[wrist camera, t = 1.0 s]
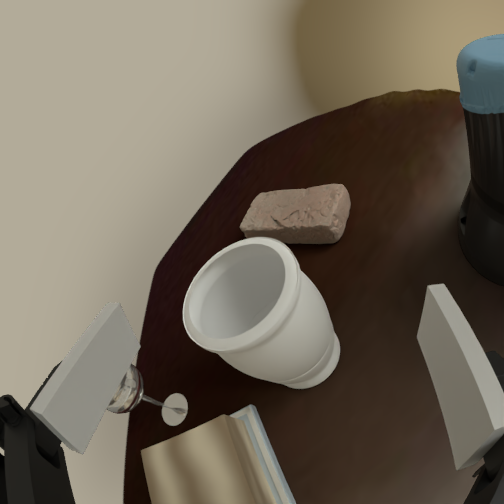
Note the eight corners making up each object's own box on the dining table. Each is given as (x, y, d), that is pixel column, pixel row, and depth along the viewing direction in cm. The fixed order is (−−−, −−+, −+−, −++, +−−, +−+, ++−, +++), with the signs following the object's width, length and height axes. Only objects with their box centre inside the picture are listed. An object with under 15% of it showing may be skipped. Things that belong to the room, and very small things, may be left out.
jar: (358, 317, 32) (312, 230, 22) (335, 406, 27) (269, 363, 17) (279, 312, 38) (210, 239, 29) (252, 387, 33) (162, 336, 24)
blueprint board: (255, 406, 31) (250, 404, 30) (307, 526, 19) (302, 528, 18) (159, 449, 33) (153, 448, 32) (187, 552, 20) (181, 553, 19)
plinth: (244, 420, 29) (223, 414, 27) (284, 521, 19) (265, 527, 17) (163, 455, 31) (140, 450, 28) (187, 542, 21) (163, 544, 18)
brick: (249, 245, 50) (234, 227, 47) (267, 208, 54) (255, 190, 51) (342, 247, 40) (331, 225, 37) (354, 204, 44) (345, 181, 41)
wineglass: (180, 378, 39) (115, 343, 32) (200, 411, 34) (128, 382, 26) (151, 406, 38) (85, 377, 31) (168, 440, 33) (95, 417, 25)
